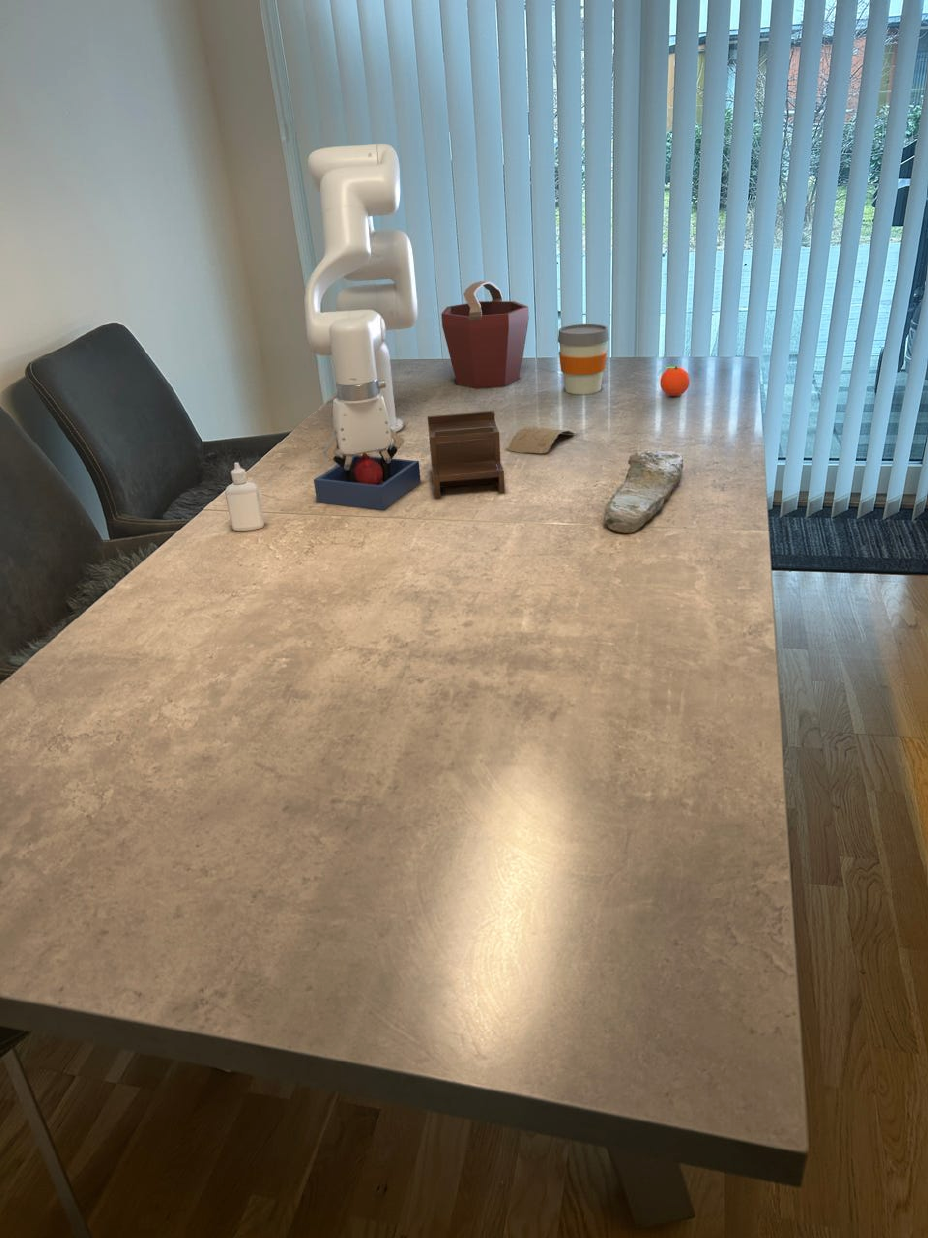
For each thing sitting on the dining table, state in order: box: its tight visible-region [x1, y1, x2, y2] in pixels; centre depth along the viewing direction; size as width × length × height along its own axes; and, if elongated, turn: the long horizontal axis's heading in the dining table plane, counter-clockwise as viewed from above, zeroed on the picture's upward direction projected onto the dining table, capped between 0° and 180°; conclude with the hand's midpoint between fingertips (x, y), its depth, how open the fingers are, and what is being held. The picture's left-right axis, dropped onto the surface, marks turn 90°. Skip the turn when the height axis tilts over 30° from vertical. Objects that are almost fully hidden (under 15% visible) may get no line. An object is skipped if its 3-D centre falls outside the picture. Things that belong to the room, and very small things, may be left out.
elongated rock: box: [602, 450, 684, 534], centre depth 159 cm, size 35×5×10 cm
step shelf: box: [427, 410, 506, 500], centre depth 169 cm, size 15×13×12 cm
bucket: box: [440, 280, 530, 389], centre depth 235 cm, size 24×22×25 cm
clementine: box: [657, 365, 691, 397], centre depth 214 cm, size 8×7×7 cm
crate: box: [313, 454, 422, 511], centre depth 169 cm, size 15×15×4 cm
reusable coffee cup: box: [557, 323, 610, 395], centre depth 222 cm, size 13×13×15 cm
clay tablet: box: [507, 425, 576, 454], centre depth 190 cm, size 14×10×3 cm
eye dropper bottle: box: [224, 462, 265, 532], centre depth 156 cm, size 4×6×12 cm
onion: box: [353, 452, 383, 485], centre depth 169 cm, size 6×6×8 cm
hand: (368, 483), depth 170 cm, fingers closed on onion, 5 cm apart
